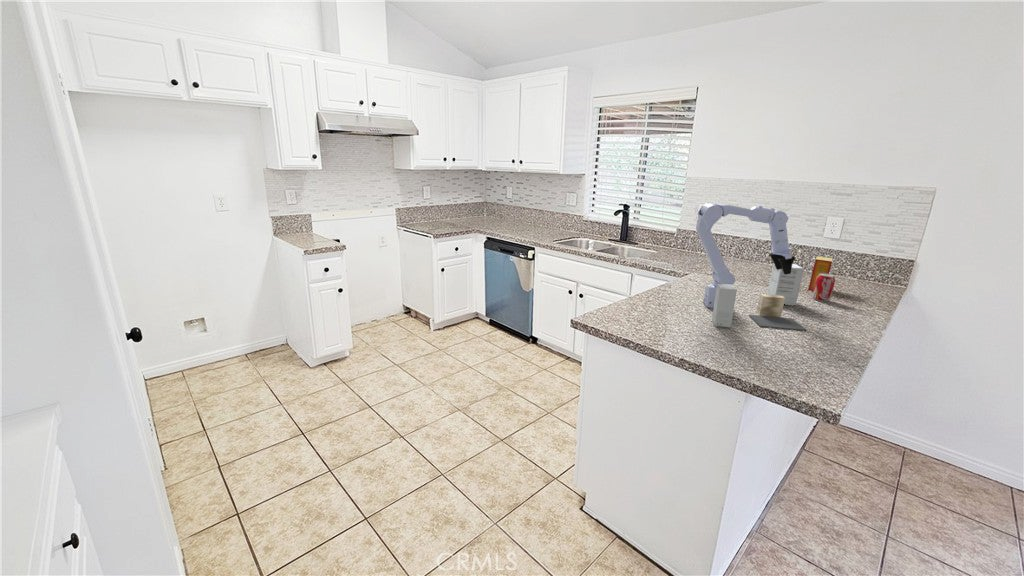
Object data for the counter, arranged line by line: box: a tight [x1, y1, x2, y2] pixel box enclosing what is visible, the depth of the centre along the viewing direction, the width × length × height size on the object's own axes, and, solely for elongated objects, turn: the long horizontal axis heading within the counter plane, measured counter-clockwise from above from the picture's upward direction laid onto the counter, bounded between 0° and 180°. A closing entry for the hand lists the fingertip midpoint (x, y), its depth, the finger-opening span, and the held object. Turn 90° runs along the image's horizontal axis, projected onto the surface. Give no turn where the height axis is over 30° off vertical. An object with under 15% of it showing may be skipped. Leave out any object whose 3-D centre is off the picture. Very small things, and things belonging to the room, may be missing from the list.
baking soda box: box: [807, 255, 833, 292], centre depth 212 cm, size 10×6×16 cm
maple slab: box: [756, 293, 785, 317], centre depth 173 cm, size 8×3×8 cm, turn 80°
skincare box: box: [711, 284, 738, 329], centre depth 162 cm, size 8×6×15 cm
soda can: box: [811, 273, 836, 303], centre depth 196 cm, size 7×7×12 cm
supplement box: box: [766, 262, 805, 306], centre depth 190 cm, size 10×9×17 cm
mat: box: [748, 314, 807, 332], centre depth 167 cm, size 16×12×1 cm
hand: (783, 271), depth 177 cm, fingers open, 7 cm apart
